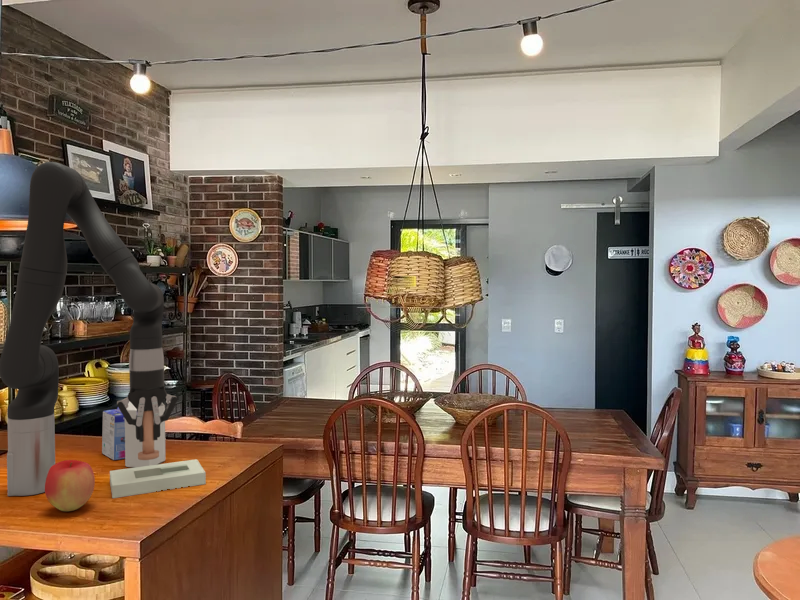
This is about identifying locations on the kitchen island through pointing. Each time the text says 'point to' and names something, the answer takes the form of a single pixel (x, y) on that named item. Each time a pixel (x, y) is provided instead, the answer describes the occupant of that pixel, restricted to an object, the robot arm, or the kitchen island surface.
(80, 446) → the kitchen island surface
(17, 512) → the kitchen island surface
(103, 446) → the ink cartridge box
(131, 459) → the milk carton
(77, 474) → the apple
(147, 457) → the headed peg
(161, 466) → the keyhole board
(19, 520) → the kitchen island surface
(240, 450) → the kitchen island surface
